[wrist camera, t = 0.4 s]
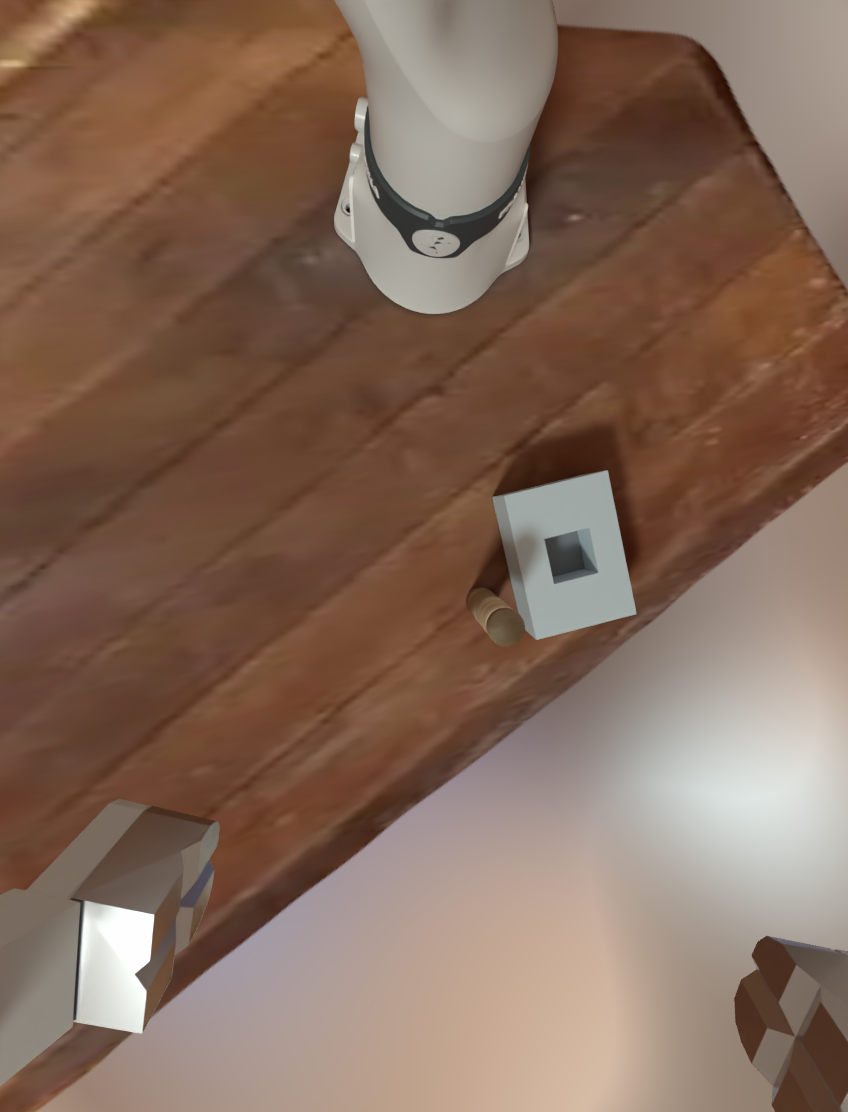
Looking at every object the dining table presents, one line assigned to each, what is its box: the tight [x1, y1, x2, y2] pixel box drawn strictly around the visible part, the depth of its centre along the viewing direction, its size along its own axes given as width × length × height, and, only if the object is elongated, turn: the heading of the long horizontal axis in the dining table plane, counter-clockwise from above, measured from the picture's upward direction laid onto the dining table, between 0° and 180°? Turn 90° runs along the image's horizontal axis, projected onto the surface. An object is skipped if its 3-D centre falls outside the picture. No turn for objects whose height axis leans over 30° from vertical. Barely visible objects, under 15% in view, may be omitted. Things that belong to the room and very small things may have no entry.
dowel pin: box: [466, 587, 525, 646], centre depth 48 cm, size 3×3×12 cm
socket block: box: [492, 470, 636, 640], centre depth 51 cm, size 14×10×6 cm
